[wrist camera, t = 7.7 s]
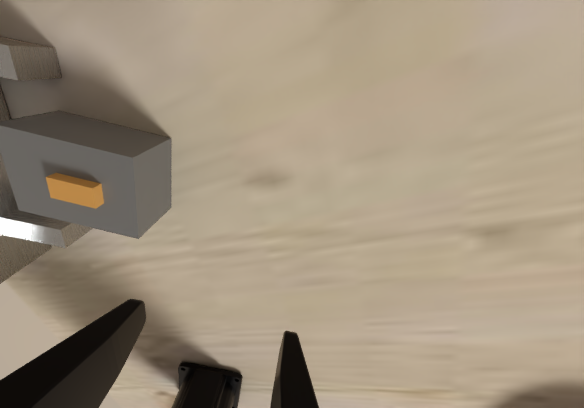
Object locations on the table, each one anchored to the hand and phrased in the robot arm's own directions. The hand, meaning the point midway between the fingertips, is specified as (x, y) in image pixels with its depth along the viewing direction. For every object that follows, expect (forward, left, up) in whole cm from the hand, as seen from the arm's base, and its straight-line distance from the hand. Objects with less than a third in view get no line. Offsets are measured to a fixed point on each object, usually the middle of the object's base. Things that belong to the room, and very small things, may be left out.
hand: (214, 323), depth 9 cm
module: (0, +10, -10) cm, 14 cm away
